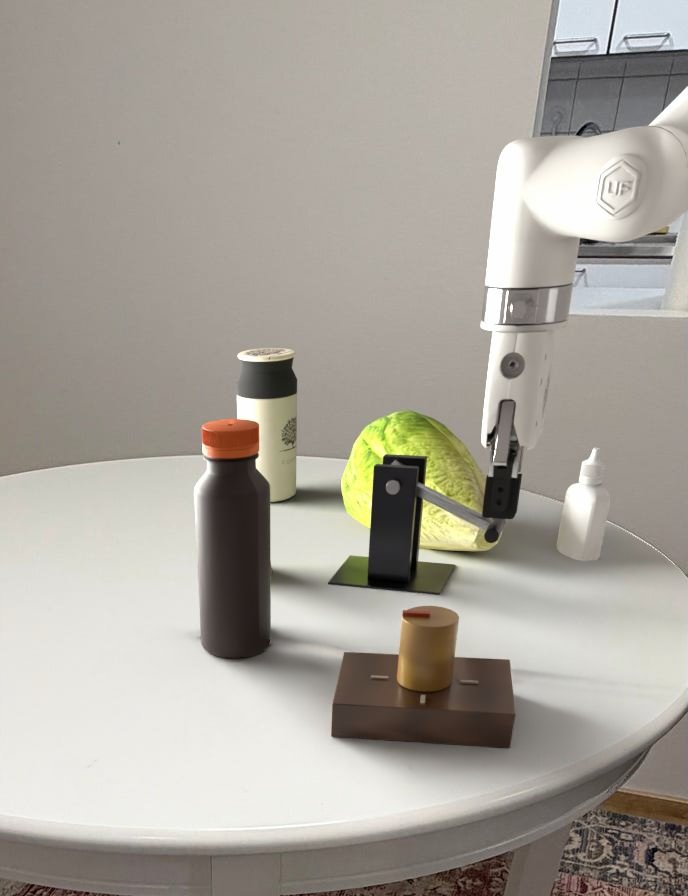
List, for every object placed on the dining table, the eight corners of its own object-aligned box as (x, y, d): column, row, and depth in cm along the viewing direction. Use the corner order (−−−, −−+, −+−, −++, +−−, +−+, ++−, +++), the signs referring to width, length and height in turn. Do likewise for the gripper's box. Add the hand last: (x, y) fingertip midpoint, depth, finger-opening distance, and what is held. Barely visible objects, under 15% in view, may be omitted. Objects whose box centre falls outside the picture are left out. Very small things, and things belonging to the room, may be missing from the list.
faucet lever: (498, 534, 99) (511, 513, 98) (491, 550, 96) (504, 528, 94) (387, 477, 100) (398, 456, 99) (376, 490, 97) (386, 468, 95)
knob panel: (505, 691, 82) (510, 657, 80) (510, 748, 74) (515, 712, 73) (342, 682, 85) (344, 649, 83) (330, 736, 77) (332, 701, 75)
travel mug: (227, 496, 134) (223, 354, 124) (267, 484, 138) (266, 345, 128) (268, 507, 129) (267, 359, 119) (307, 494, 133) (310, 350, 123)
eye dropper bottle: (556, 568, 106) (576, 454, 99) (554, 552, 110) (573, 441, 103) (598, 570, 105) (621, 455, 98) (594, 553, 109) (616, 442, 102)
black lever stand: (454, 575, 106) (468, 453, 98) (439, 604, 99) (452, 476, 91) (349, 565, 109) (354, 447, 102) (327, 593, 103) (331, 469, 95)
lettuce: (410, 594, 104) (455, 467, 96) (315, 506, 121) (346, 391, 112) (517, 597, 110) (568, 478, 102) (413, 513, 127) (449, 405, 118)
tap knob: (451, 669, 79) (459, 602, 76) (451, 693, 76) (459, 624, 72) (398, 667, 80) (403, 600, 77) (395, 690, 77) (400, 622, 73)
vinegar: (191, 639, 94) (179, 422, 83) (253, 626, 96) (250, 412, 84) (217, 665, 89) (208, 437, 77) (282, 651, 91) (283, 427, 79)
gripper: (561, 319, 79) (528, 542, 89) (576, 297, 90) (545, 497, 100) (468, 319, 81) (447, 536, 92) (495, 298, 92) (473, 493, 103)
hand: (499, 515), depth 96 cm, fingers closed
